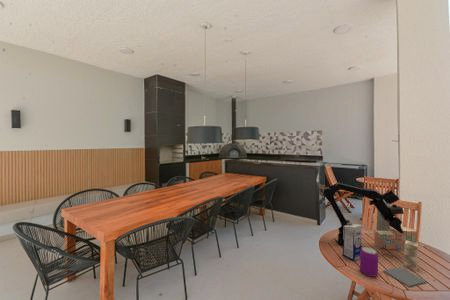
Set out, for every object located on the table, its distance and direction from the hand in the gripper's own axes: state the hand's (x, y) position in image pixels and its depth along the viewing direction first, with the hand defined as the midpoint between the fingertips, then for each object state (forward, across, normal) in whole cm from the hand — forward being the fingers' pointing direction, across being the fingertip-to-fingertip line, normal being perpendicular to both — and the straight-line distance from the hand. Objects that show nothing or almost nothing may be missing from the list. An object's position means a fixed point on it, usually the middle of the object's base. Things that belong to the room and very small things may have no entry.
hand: (399, 230), depth 126 cm
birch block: (+12, -15, +8) cm, 21 cm away
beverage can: (-1, -30, +26) cm, 40 cm away
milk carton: (-4, -16, +31) cm, 35 cm away
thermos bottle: (+12, +28, +9) cm, 31 cm away
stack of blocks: (+12, +8, +8) cm, 17 cm away
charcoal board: (+8, -27, +13) cm, 31 cm away
